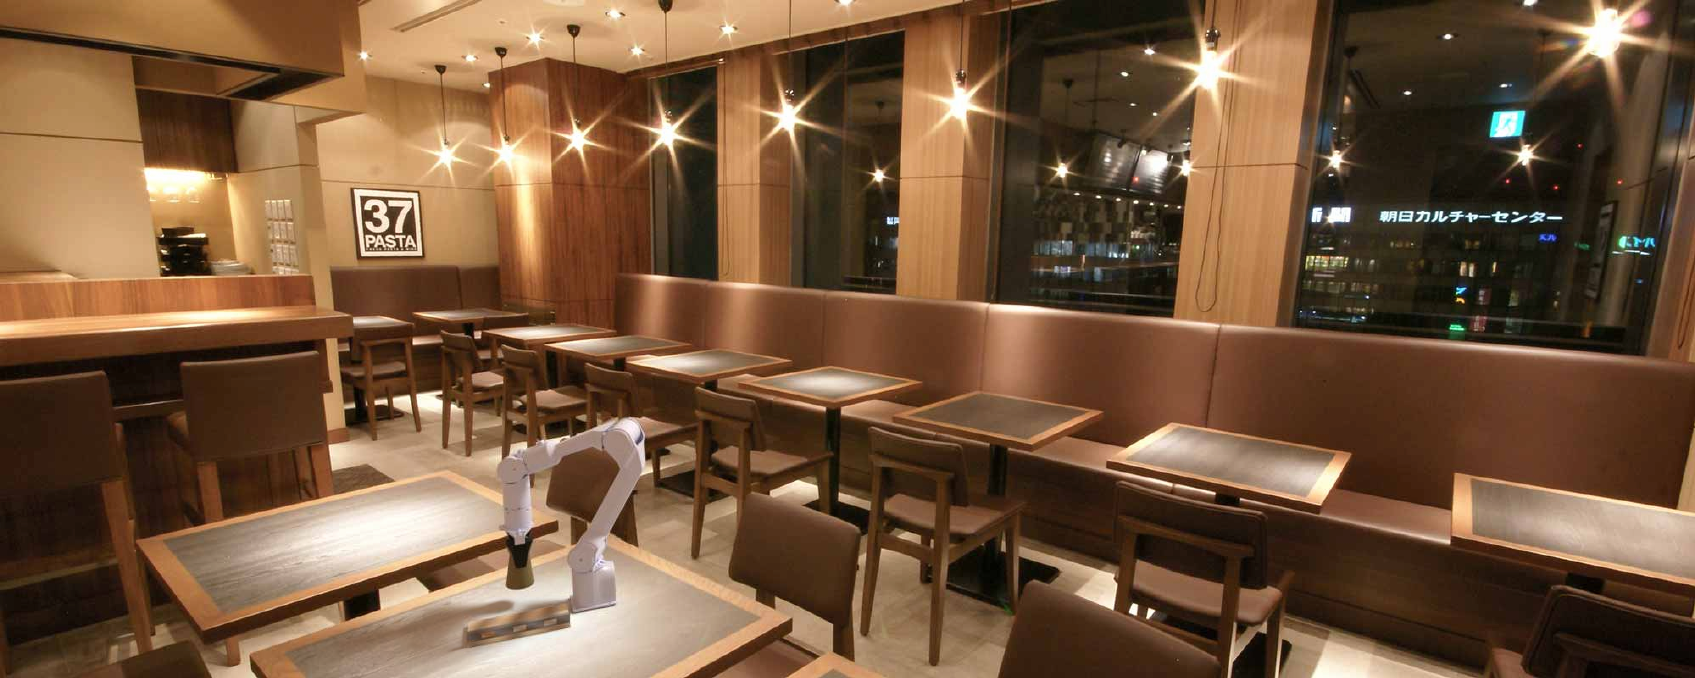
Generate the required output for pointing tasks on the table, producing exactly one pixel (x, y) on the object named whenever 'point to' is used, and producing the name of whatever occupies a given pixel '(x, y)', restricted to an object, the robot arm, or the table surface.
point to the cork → (519, 574)
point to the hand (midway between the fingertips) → (520, 562)
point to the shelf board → (517, 625)
